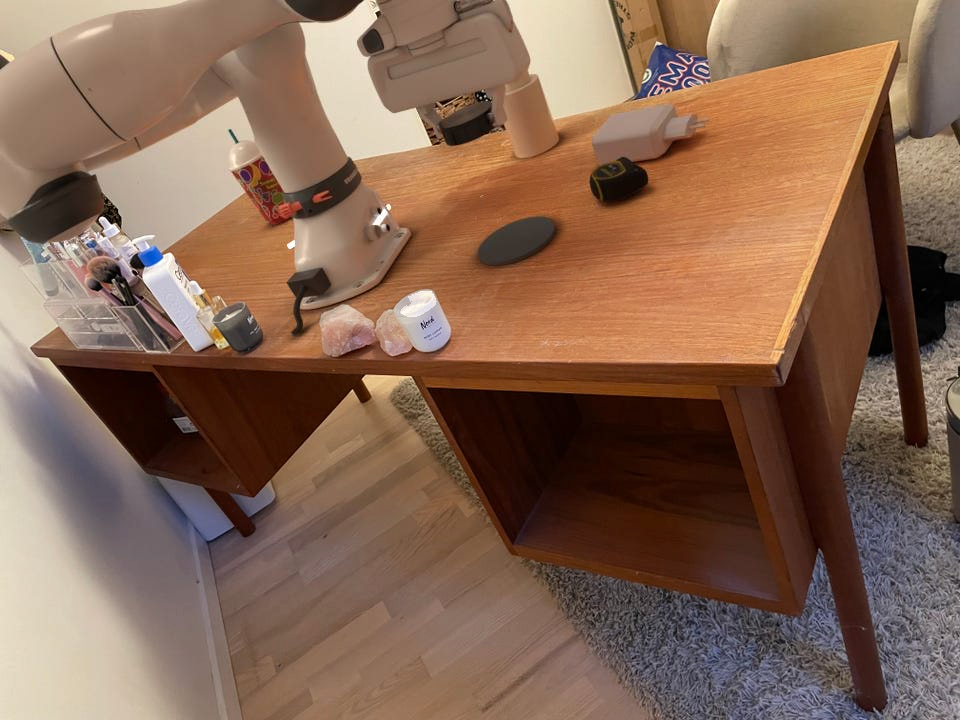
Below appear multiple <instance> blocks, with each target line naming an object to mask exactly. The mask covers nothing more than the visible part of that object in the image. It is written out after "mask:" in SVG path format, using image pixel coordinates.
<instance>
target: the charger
mask: <svg viewBox="0 0 960 720" xmlns="http://www.w3.org/2000/svg"><path fill="white" fill-rule="evenodd" d="M709 121H710V118H700V119H699V116H698V115H697V114H688V115H687V114H686V115H681V116H678V113H677V109H676V107H675V106H674V105H672V104H671V103H663V104H659V105H654V106H649V107H643V108H638V109H634V110H633V109H632V110H628V111H623V112H618V113H613V114H611V115H610V116H609V117H608V118H607V119H606V121H605V122H604V123H603V124H602V125H601V127H600V128H599V129H598V130H597V131H596V132H595V133H594V134H593V137H592V140H591V144H592V149H593V152H594V155H595V158H596V161H597V164H598V167H600V166H601V165H603V164H606V163H609V162H613V161H616V160H617V159H619V158H621V157H626V158H628V159H629V160H631V161H632V162H633V163H634V162H639V161H641V162H642V161H648V160H655V159H658V158H660V157H661V156H662V155H664V154H665V153H666V152H667V150H668V149H669V148H670V146H671V145H672V144H673V142H674V141H678V140H683V139H684V140H685V139H689V138H692V137H693V135H694V133H695V132H696V130H697V129H702V128H706V124H705V123H707V122H709Z"/></svg>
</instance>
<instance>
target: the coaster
mask: <svg viewBox="0 0 960 720" xmlns="http://www.w3.org/2000/svg"><path fill="white" fill-rule="evenodd" d="M556 232H557V226H556V224H555V222H554V220H553V219H551V218H549V217H547V216H529V217H524V218H520V219H518V220H515V221H512V222H509V223H508V224H505V225H503V226H501V227H499V228H498V229H496V230H495V231H493V232H492V233H490V234H489V235H488V236H487V237H486V238H485V239H484V240H483V241H482V242H481V243H480V245H479V247H478V250H477V255H478V258H479V261H480V262H482V263H483V264H485V265H488V266H504V265H509V264H515V263H516V262H520V261H522V260H525V259H527V258H529V257H531V256H533V255H534V254H536V253H538V252H539V251H541V250H543V249H544V248H545V247H546V246H548V244H549V243H550V242H551V241H552V240H553V238H554V237H555V235H556Z"/></svg>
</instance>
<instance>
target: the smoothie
mask: <svg viewBox="0 0 960 720" xmlns="http://www.w3.org/2000/svg"><path fill="white" fill-rule="evenodd" d="M227 132H228V133H229V135H230V136H231V137H232V140H233V141H234V144H233V145H232V146H231V147H230V149H229V151H228V154H227V164H228V171H230V172H231V174H232V175H233V177H234V178H235V179H236V181H237V183H239V185H240V187H241V188H242V189H243V190H244V192H245V193H246V195H247V196H248V198H249V199H250V200H251V202H252V203H253V205H254V206H255V208H256V209H257V210H258V212H259V213H260V214H261V216H262V217H263V219H264V220H265V221H266V222H268V223H270V224H271V225H272V226H275V225H280V224H282V223H284V222H286V221H288V220H289V219H291V218H292V217H291V216H290V217H288V218H286V219H285V218H284V217H282V215H280V214H281V213H279V211H280V210H279V206H280V205H283V204H285V200H284V197H283V194H282V191H283V189H282V188H281V186H280V184H279V183H278V181H277V179H276V178H275V176H274V174H273V173H272V171H271V169H270V168H269V166H268V164H267V163H266V161H265V159H264V158H263V156H262V154H261V152H260V151H259V149H258V147H257V146H256V143H255V141H252V140H247V139H244V140H239V139H238V138H237V136H236V135H235V133H234V132H233V130H232V128H229V129H228V130H227Z"/></svg>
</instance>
